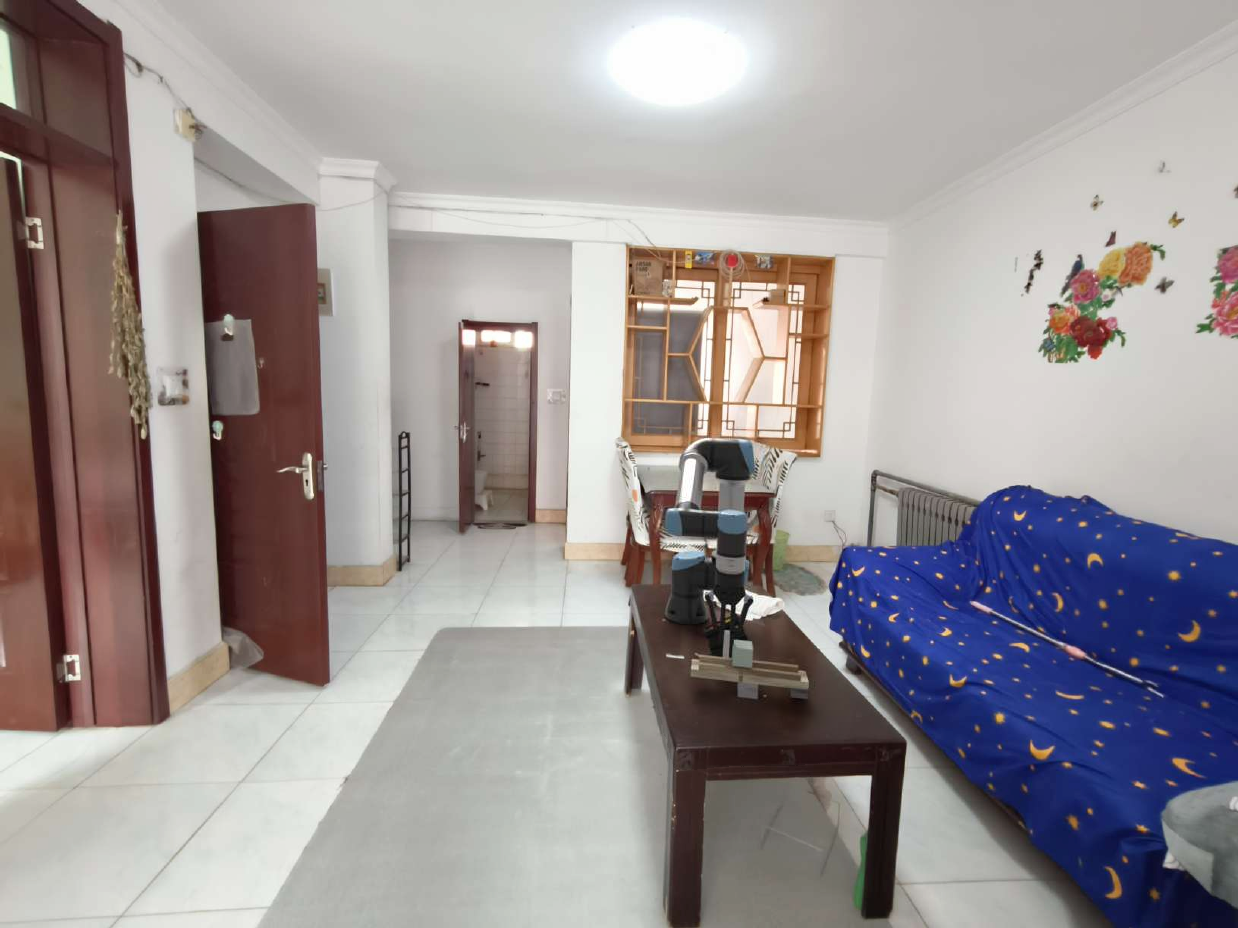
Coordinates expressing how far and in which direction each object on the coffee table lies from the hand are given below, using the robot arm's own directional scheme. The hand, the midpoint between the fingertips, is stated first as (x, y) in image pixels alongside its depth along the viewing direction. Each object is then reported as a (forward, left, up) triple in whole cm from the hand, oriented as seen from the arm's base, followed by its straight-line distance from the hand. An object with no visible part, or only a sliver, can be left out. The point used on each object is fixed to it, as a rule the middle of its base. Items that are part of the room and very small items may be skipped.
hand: (725, 655), depth 145 cm
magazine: (-14, 0, -10) cm, 17 cm away
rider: (0, +4, -3) cm, 5 cm away
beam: (0, +6, -9) cm, 11 cm away
